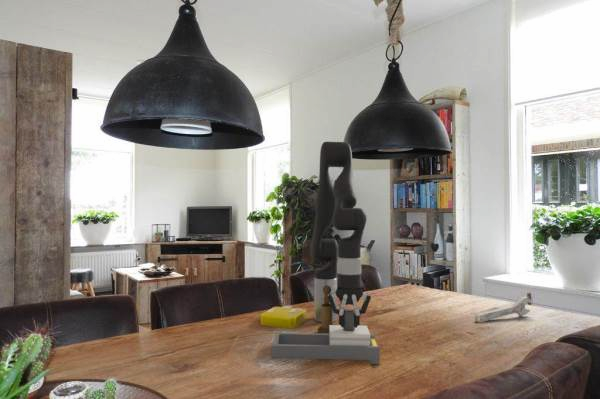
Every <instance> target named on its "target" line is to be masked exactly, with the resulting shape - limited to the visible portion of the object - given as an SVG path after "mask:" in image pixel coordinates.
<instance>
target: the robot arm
mask: <svg viewBox="0 0 600 399" xmlns="http://www.w3.org/2000/svg"><path fill="white" fill-rule="evenodd" d="M319 153H320V155H319V172H318V173H319V177H318V178H319V180H318V188H317V194H316V202H315V213H314V214H315V216H314V218H315V219H314V228H313V232H312V233H313V234H312V238H311V239H312V240H311V245H310V256H311V259H312V260H313V261H314V262H327V263H326V265H324V266H323V267H321V268H317V269H316V270H315V271H314V283H313V284H314V287H313V288H314V294H313V295H314V302H313V304H314V307H313V308H314V309H313V310H314V317H313V318H314V321H315V322H320V323H321V318H322V304H325V303H324V298H325V294H324V292H323V287H324V286H330V287H331V292H330V294H328V299H329V304H331V307H332V323H334V322H336V321H338V325H340V326H341V327H344V315H343V312H344V309H346V306H348V305H351V306H353V309H354V310H355V328H357V326H360V325H361V324H360V321H361V320H360V319H361V318H360V317H361V315H364V314H366V312H367V309H368V307H369V303H370V302H371V299H372V296H371V295H370V294H369V293H365V292H363V290H362V261H361V260H362V259H361V258H362V257H361V253H362V252H361V248H362V247H361V244H362V240H363V234H364V230H365V227H366V224H367V214H366V211H365V210H364V209H362V208H360V207H356V205H357V196H356V191H355V187H354V173H353V172H354V171H353V170H354V169H353V167H354V166H353V154H352V153H353V152H352V148H351V144H350V143H348V142H344V141H323V143H322V144H321V147H320V152H319ZM329 168H343V169H342V171H341V172H340V174H339V175H338V176H337V178H336V179H335V181H334V182H333V181H332V178H331V176H330V172H329ZM331 225H333V227H334V228H335V230H337V231H353V232H352V235H350V236H348V237H343V238H339V239H338V241H337V240H336V239H335V238H323V237H324V236H325V232H326V231H327V230H328V229H329V228H330V226H331ZM361 298H362V300H363V303H362V306H361V308H360V309H359V304H358V302H359V300H360V299H361ZM337 299H339V301H340V304H339V308H338V305H337V304H338V303H337V302H338V300H337ZM337 317H338V318H337ZM337 319H338V320H337Z"/></svg>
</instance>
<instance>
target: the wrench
mask: <svg viewBox="0 0 600 399" xmlns="http://www.w3.org/2000/svg"><path fill="white" fill-rule="evenodd" d="M527 303H530V304H533V300H532V298H529V297H528V296H522V297H520V298H519V299H518V300H517V301H516V302H515V303H513V304H512V305H510V306H509V305H508V306H506V307H502V308H501V307H500V308H498V309H494V310H490V311H486V312H482V313H478V314H476V315H475V316H474V321H475V322H477V323H483V322H487V321H490V320H494V319H498V318H501V317H506V316H508V315H512V314H515V315H517V316H518V317H519V318H524V316H526V315H527V314H529V313H530V312H531V309H529V308H526V305H527Z"/></svg>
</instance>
